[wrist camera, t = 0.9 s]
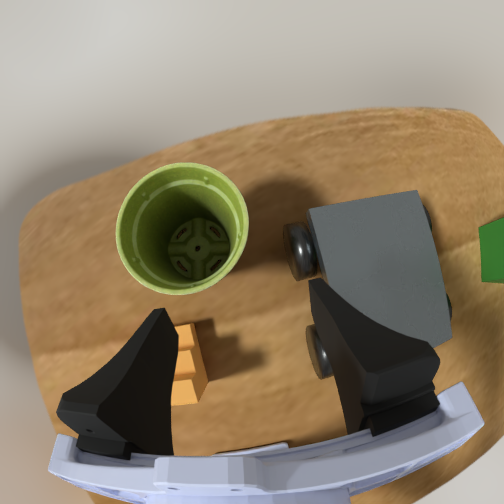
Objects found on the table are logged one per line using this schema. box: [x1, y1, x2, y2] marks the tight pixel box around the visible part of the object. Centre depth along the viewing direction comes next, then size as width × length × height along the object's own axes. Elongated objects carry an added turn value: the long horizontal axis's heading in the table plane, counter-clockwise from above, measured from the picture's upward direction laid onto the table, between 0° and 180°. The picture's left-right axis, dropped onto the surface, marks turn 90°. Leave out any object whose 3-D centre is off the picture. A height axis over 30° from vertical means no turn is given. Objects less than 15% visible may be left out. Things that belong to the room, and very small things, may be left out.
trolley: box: [283, 190, 452, 379], centre depth 23 cm, size 14×14×6 cm
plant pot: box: [116, 163, 249, 295], centre depth 22 cm, size 9×9×9 cm
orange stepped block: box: [171, 323, 208, 406], centre depth 22 cm, size 6×4×6 cm, turn 13°
